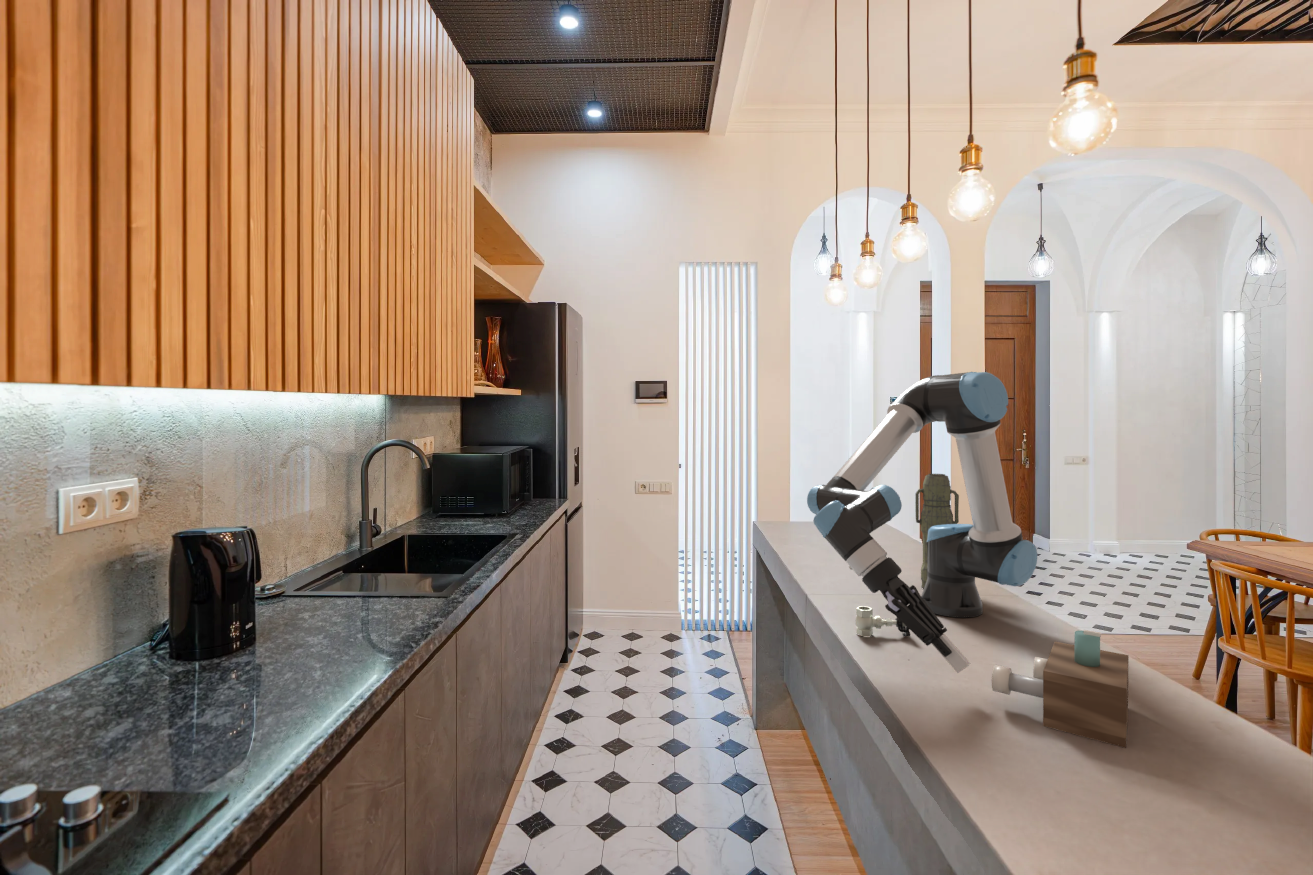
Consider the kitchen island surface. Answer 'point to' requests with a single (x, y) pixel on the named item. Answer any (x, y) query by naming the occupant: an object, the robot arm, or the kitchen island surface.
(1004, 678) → the knob
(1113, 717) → the mount
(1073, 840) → the kitchen island surface
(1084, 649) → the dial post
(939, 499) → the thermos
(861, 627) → the valve
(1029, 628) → the kitchen island surface
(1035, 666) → the knob
